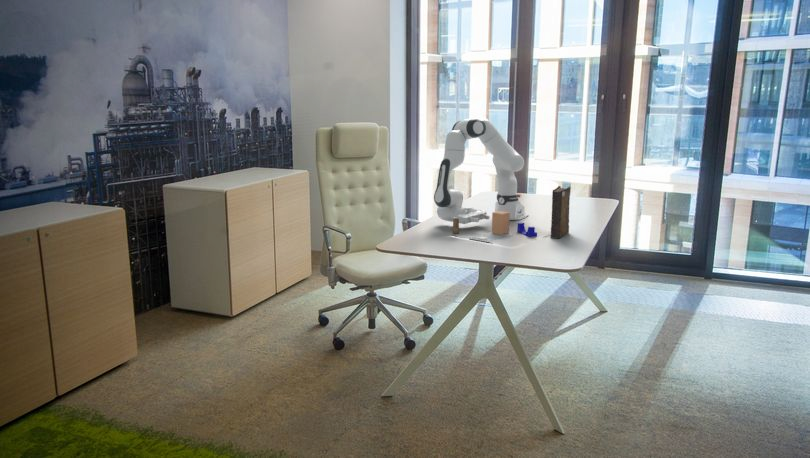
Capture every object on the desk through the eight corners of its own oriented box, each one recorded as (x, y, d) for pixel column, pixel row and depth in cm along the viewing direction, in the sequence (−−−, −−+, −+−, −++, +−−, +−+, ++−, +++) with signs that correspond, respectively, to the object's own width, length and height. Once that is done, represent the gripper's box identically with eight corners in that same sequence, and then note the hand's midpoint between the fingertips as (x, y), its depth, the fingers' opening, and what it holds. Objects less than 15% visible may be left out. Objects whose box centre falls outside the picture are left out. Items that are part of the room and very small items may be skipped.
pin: (455, 234, 337) (455, 217, 335) (459, 235, 335) (460, 218, 333) (451, 235, 335) (452, 218, 333) (456, 236, 333) (456, 219, 331)
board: (494, 232, 341) (494, 219, 340) (513, 235, 333) (513, 222, 332) (469, 239, 325) (469, 226, 324) (488, 243, 318) (489, 229, 316)
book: (558, 239, 325) (561, 190, 320) (545, 237, 329) (547, 189, 324) (570, 233, 339) (572, 186, 333) (557, 231, 343) (559, 185, 337)
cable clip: (536, 238, 328) (537, 226, 327) (529, 239, 327) (529, 227, 326) (524, 233, 339) (525, 222, 338) (517, 234, 338) (517, 222, 337)
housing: (498, 231, 339) (499, 210, 337) (509, 232, 335) (509, 212, 333) (491, 233, 335) (492, 212, 332) (502, 235, 331) (502, 214, 328)
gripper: (451, 212, 342) (472, 216, 333) (473, 207, 356) (494, 210, 347) (450, 224, 343) (471, 228, 334) (473, 218, 358) (494, 221, 349)
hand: (483, 219), depth 341 cm, fingers open, 8 cm apart
